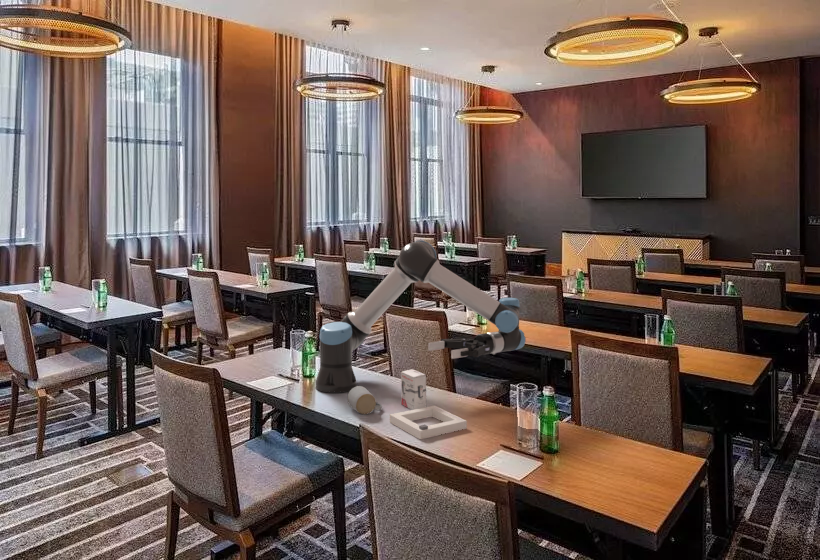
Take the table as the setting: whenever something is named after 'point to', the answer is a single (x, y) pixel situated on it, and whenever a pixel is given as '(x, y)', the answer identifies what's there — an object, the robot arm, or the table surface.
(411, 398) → the ink box
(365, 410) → the ceramic mug
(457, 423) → the socket plate
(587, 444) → the table surface
